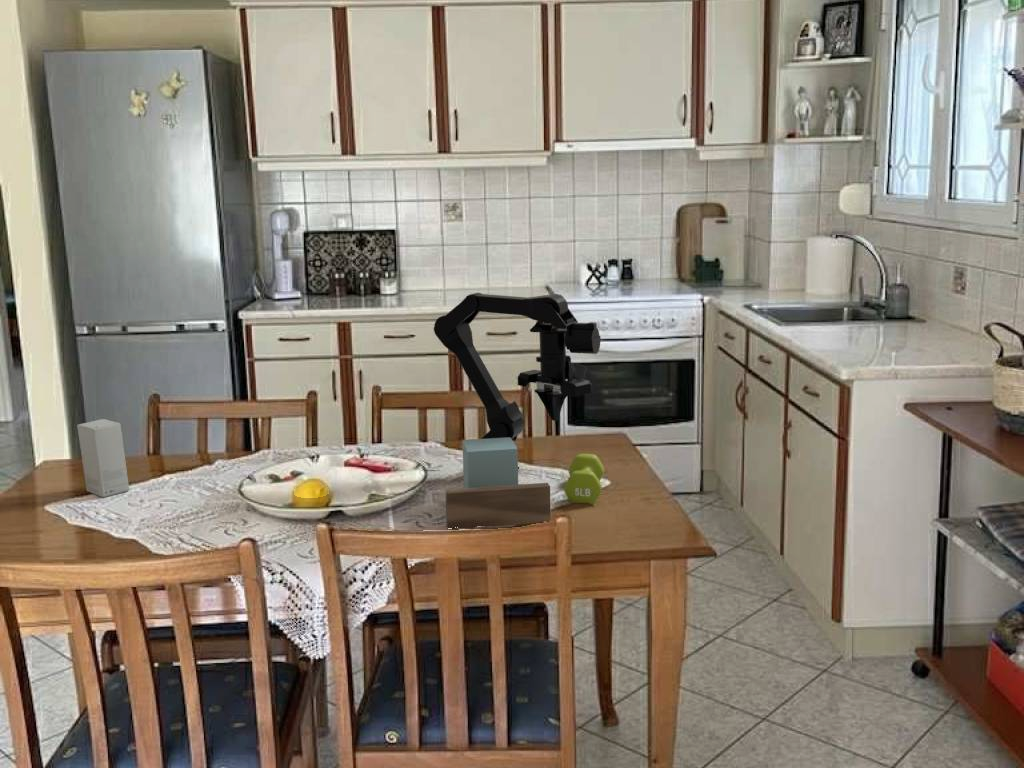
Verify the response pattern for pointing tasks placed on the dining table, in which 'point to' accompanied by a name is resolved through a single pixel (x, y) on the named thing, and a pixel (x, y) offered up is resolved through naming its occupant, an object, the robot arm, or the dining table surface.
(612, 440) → the dining table surface
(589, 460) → the dumbbell
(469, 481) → the block
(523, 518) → the board
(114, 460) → the skincare box
